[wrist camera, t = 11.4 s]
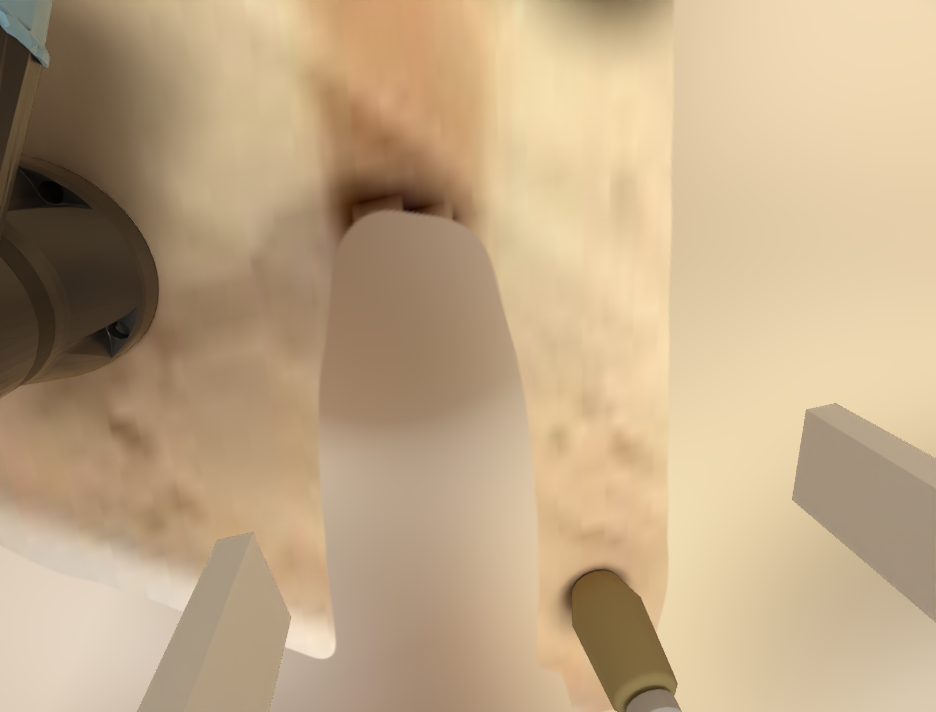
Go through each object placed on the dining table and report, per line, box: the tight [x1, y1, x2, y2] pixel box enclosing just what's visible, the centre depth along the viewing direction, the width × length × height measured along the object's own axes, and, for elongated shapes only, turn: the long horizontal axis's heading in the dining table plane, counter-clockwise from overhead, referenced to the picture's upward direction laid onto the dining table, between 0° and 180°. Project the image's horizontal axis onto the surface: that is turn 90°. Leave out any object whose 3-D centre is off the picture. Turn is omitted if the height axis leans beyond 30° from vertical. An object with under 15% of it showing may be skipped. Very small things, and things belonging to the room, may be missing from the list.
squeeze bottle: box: [572, 570, 682, 712], centre depth 46 cm, size 8×8×18 cm
